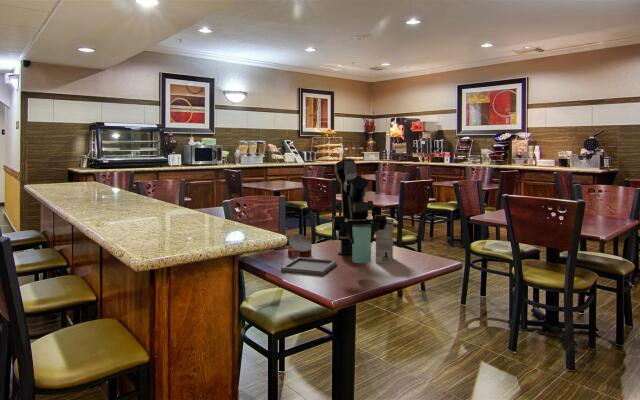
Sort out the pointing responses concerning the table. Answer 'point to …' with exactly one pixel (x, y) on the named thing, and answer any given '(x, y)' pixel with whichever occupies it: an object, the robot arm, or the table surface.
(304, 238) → the canned food
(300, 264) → the tray
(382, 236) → the coffee box
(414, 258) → the table surface
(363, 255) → the green rounded cylinder
